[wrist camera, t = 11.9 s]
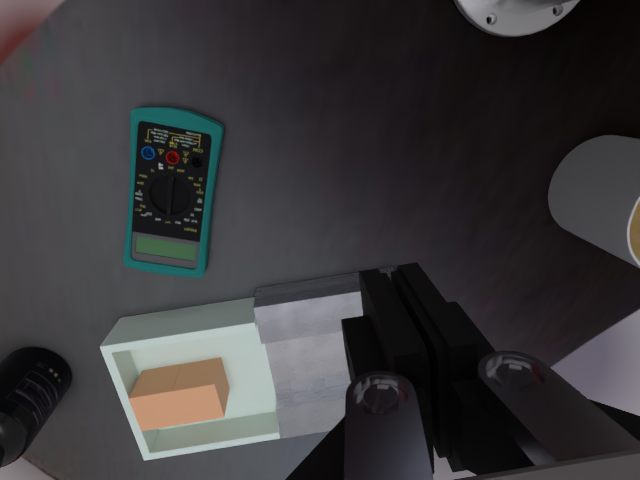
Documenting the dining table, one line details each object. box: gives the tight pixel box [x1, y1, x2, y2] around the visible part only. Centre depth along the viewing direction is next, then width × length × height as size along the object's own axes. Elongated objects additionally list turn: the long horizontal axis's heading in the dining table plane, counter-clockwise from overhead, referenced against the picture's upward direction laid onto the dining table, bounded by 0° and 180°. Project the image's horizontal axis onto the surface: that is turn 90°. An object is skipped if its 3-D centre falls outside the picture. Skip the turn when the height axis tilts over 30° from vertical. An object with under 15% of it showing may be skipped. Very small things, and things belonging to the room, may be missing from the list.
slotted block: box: [253, 267, 395, 438], centre depth 42 cm, size 14×16×4 cm
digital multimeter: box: [123, 107, 225, 277], centre depth 36 cm, size 7×15×3 cm, turn 168°
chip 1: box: [128, 364, 183, 431], centre depth 40 cm, size 4×4×4 cm
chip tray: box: [100, 297, 280, 460], centre depth 42 cm, size 14×14×5 cm
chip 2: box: [172, 357, 230, 424], centre depth 40 cm, size 4×4×4 cm
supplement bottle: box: [0, 349, 71, 468], centre depth 37 cm, size 7×7×12 cm
